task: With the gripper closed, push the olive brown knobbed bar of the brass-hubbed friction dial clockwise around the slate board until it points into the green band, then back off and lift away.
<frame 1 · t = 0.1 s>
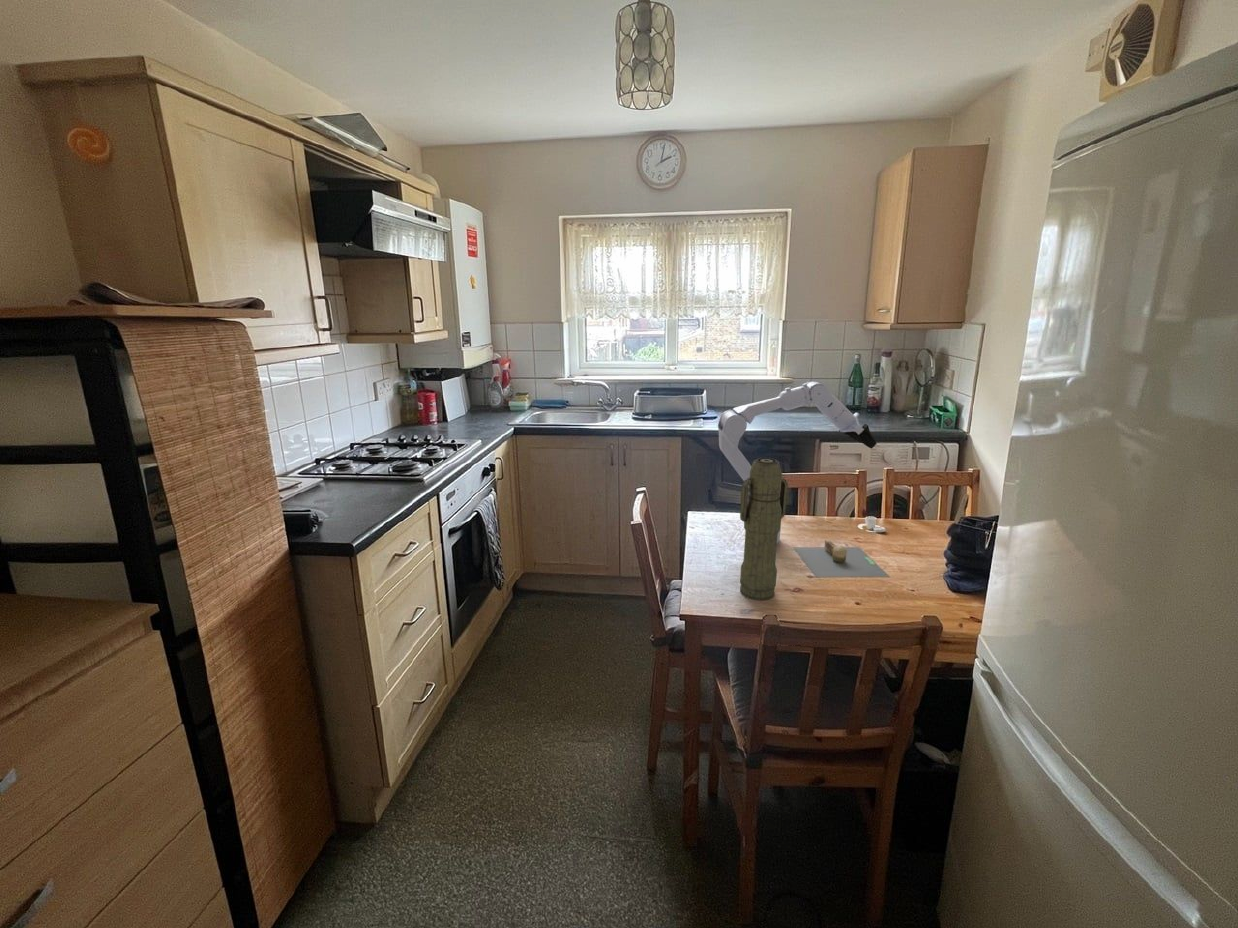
hand: (868, 443, 170), 32 cm above the table, tool tilted 50°, fingers open, 7 cm apart
olive green tall cylinder: (757, 592, 147), on the table
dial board: (838, 565, 162), on the table
olive brown knobbed bar: (834, 550, 165), point 3 cm above the table, hinge at 95.0°
teacup and saucer: (868, 532, 188), on the table
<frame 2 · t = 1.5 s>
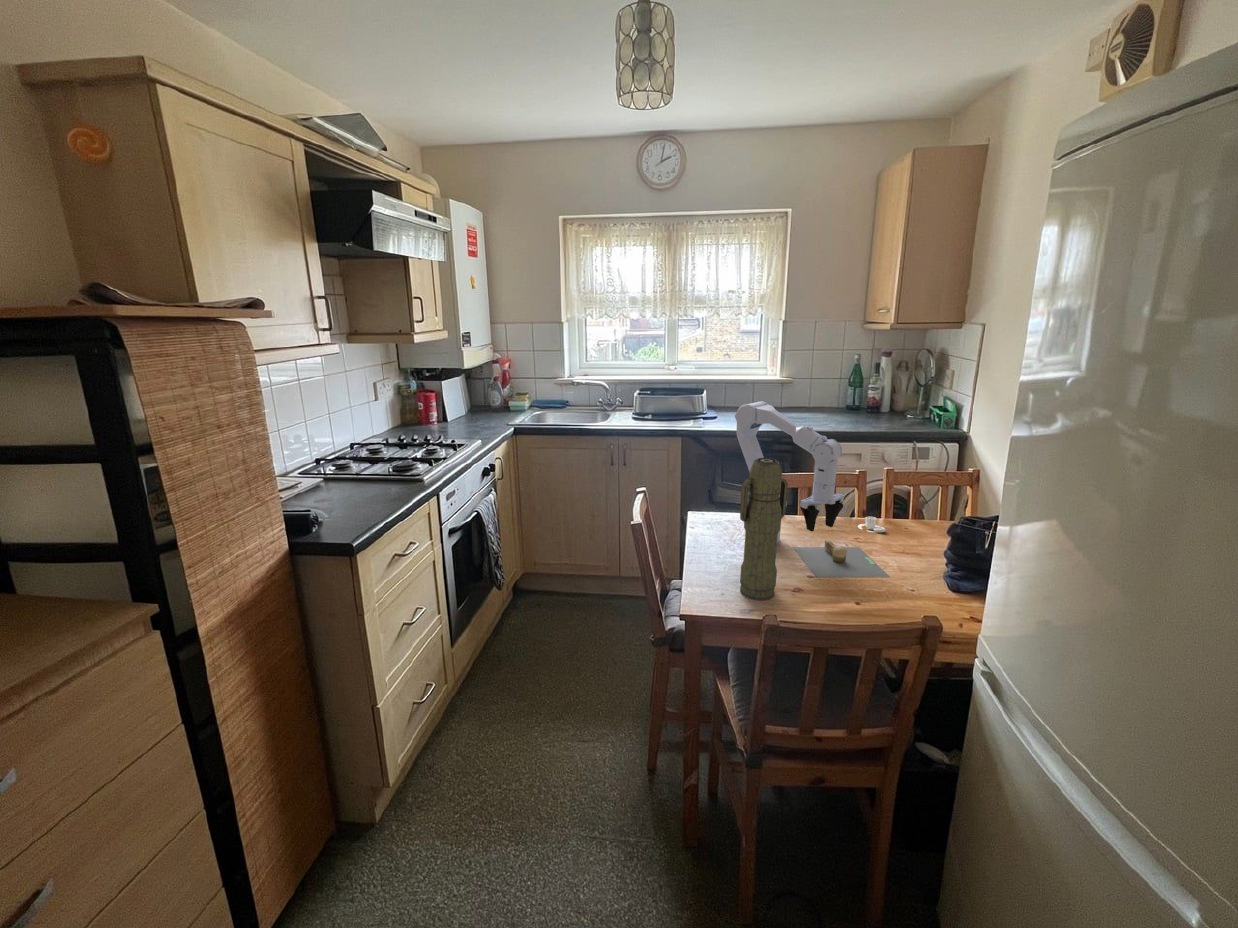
hand: (819, 528, 164), 9 cm above the table, tool pointing down, fingers open, 7 cm apart
nothing on the table moved.
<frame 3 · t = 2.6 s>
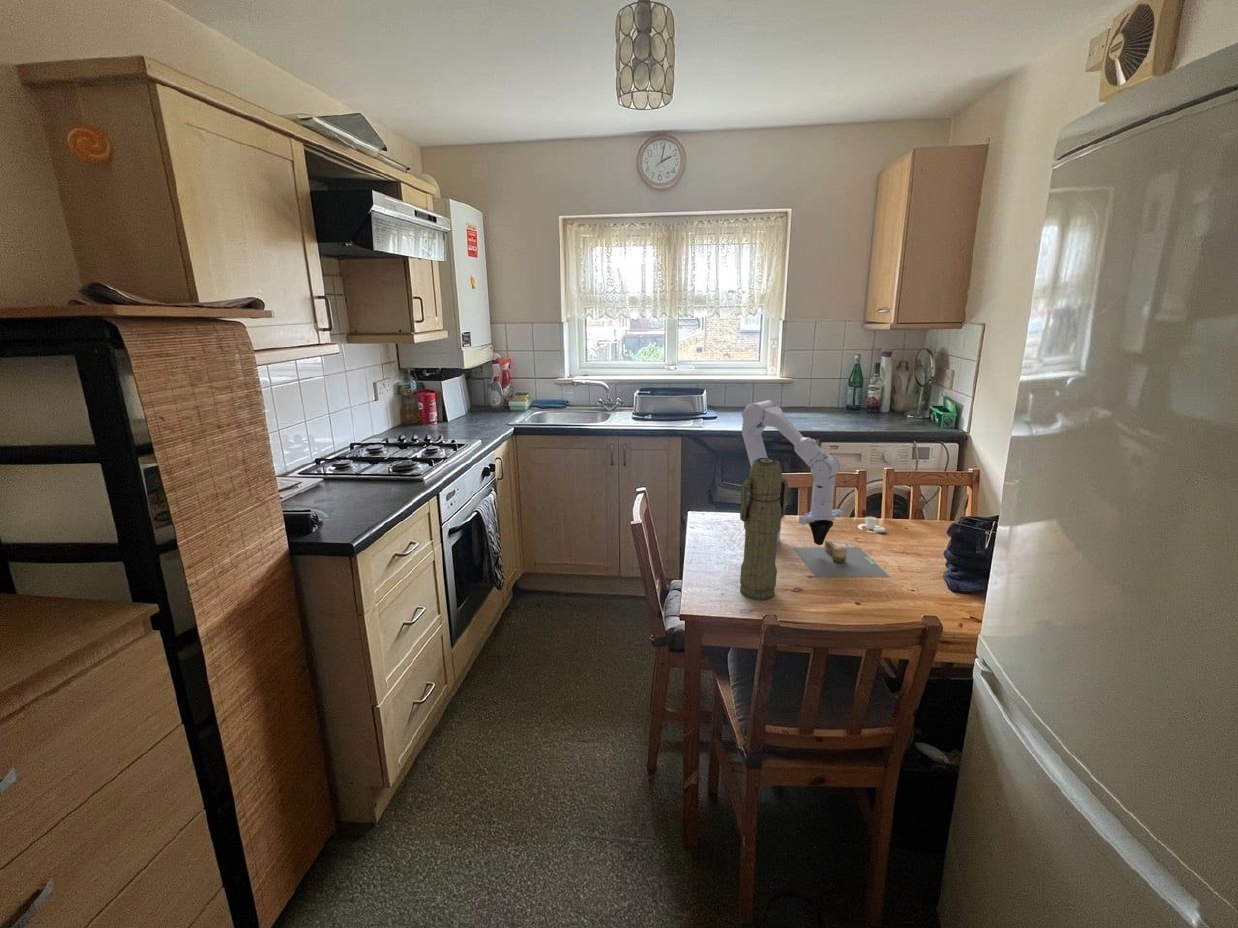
hand: (818, 543, 166), 5 cm above the table, tool pointing down, fingers closed
nothing on the table moved.
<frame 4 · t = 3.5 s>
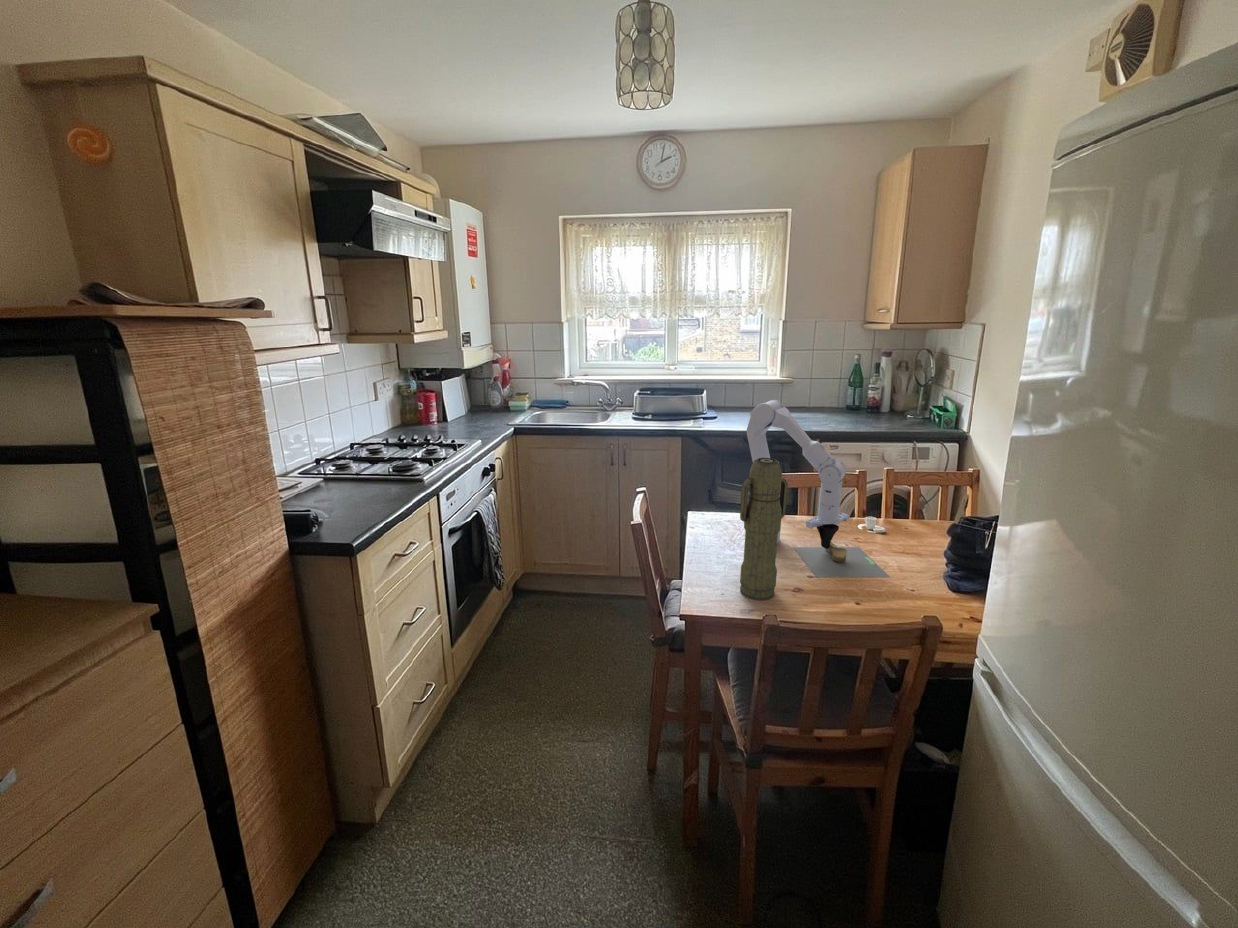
hand: (825, 547, 167), 3 cm above the table, tool pointing down, fingers closed, pressing on olive brown knobbed bar
olive brown knobbed bar: (834, 550, 165), point 3 cm above the table, hinge at 94.8°, touching gripper
everything else where it was.
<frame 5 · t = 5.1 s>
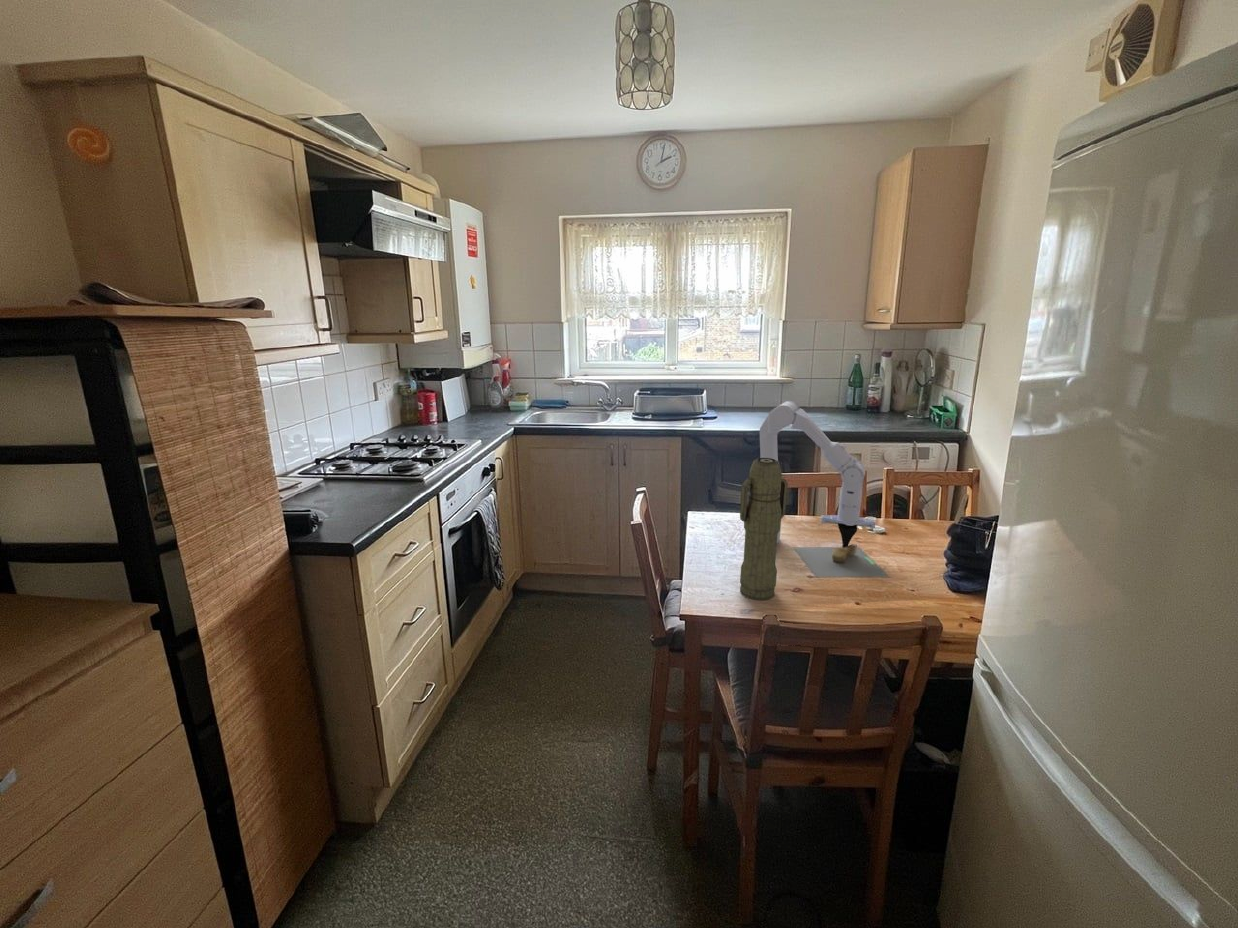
hand: (844, 548, 167), 3 cm above the table, tool pointing down, fingers closed
olive brown knobbed bar: (845, 551, 163), point 3 cm above the table, hinge at 37.5°, touching gripper
everything else where it was.
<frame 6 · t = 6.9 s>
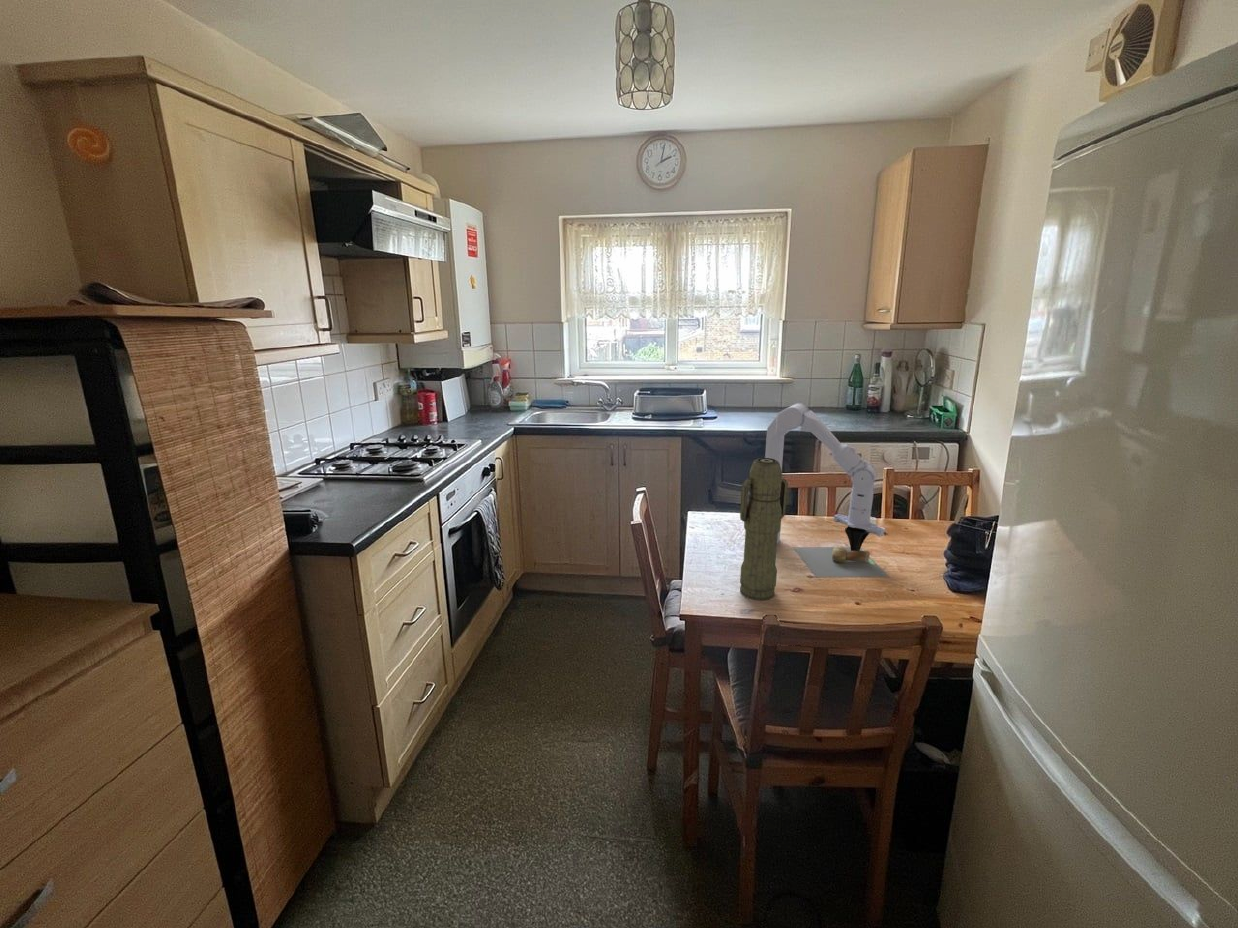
hand: (855, 551, 164), 3 cm above the table, tool pointing down, fingers closed
olive brown knobbed bar: (850, 555, 161), point 3 cm above the table, hinge at -5.1°
everything else where it was.
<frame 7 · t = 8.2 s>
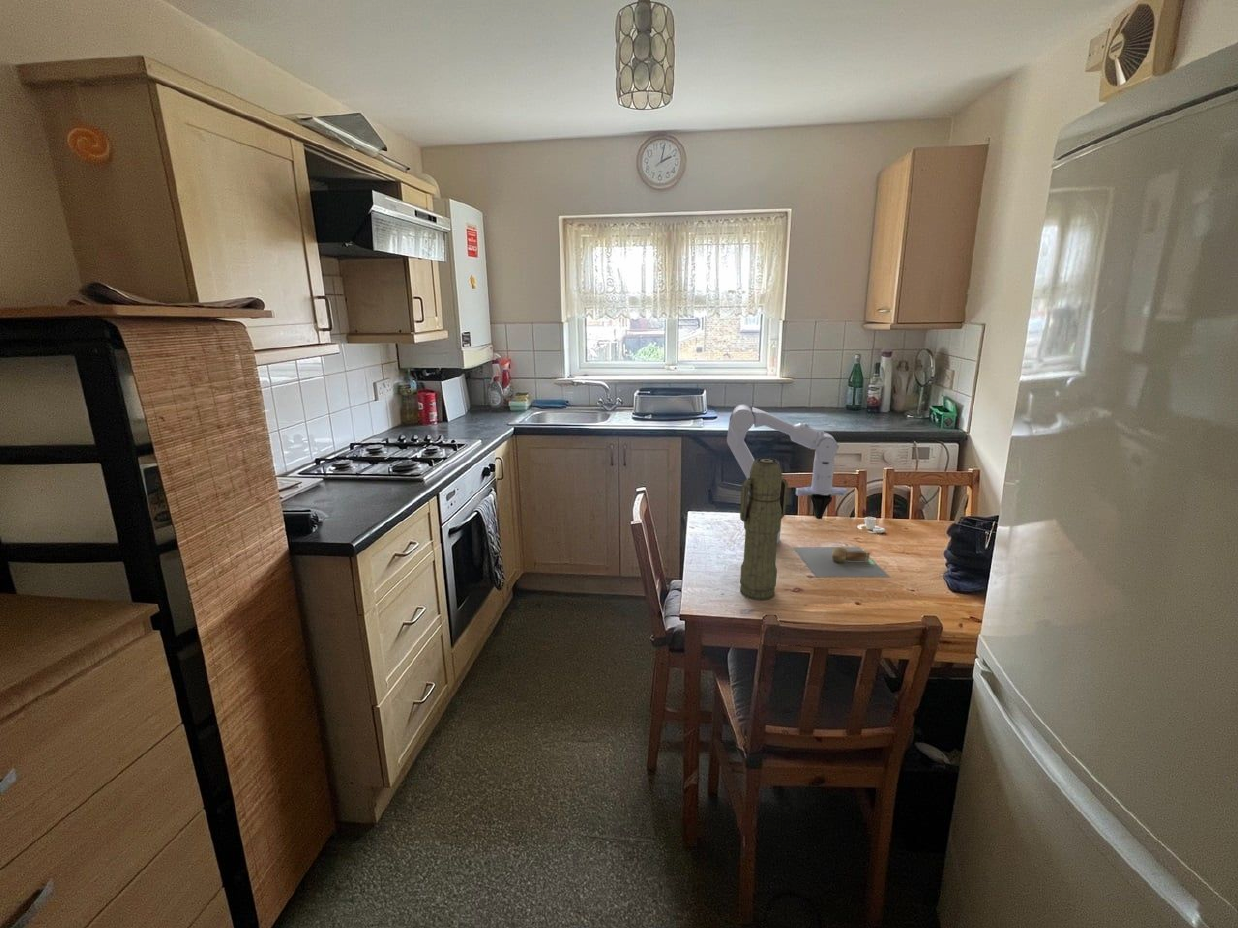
hand: (818, 517, 173), 9 cm above the table, tool pointing down, fingers closed
nothing on the table moved.
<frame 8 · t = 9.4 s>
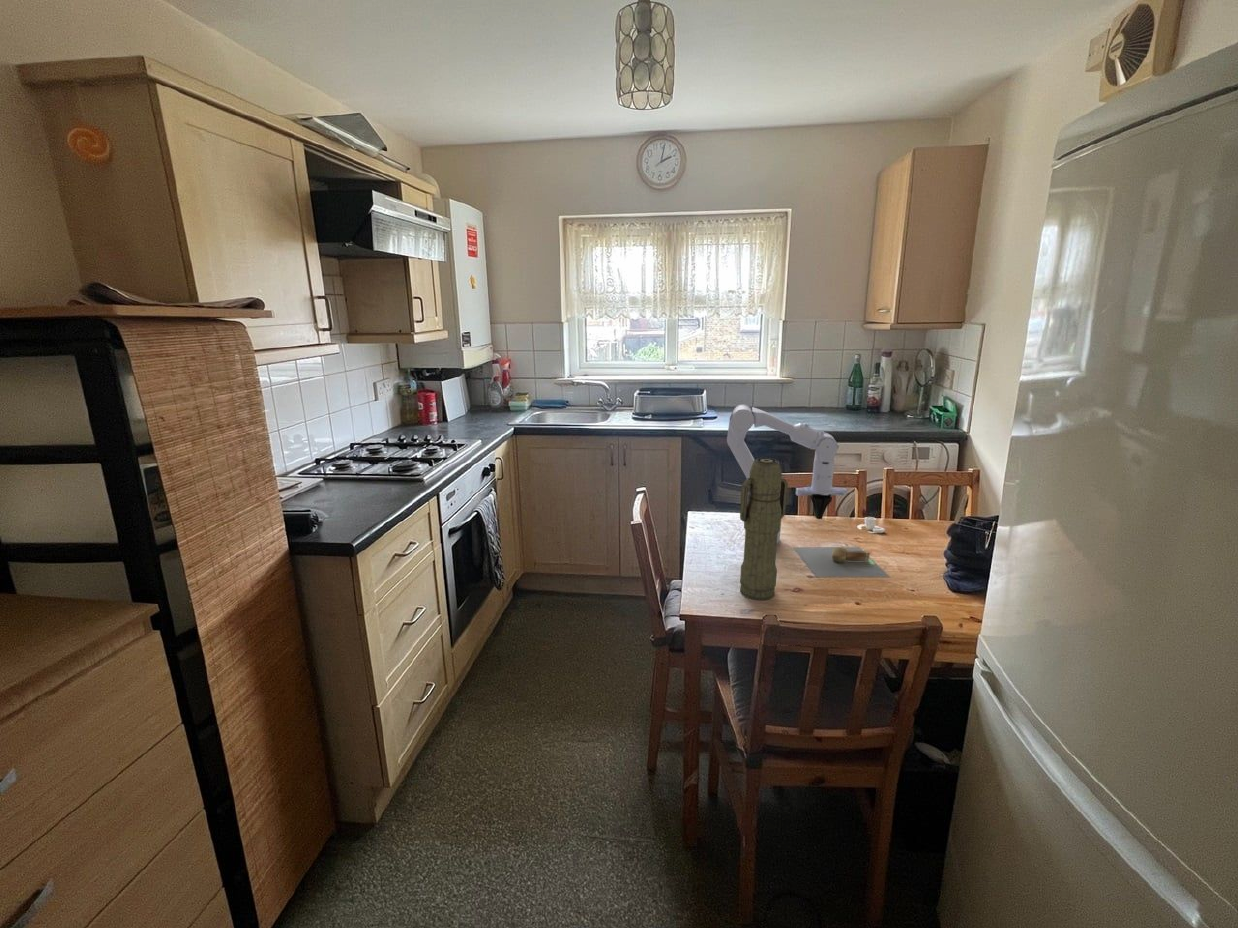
hand: (818, 517, 173), 9 cm above the table, tool pointing down, fingers closed
nothing on the table moved.
at the end: olive brown knobbed bar at -5° (first picture: +95°) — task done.
